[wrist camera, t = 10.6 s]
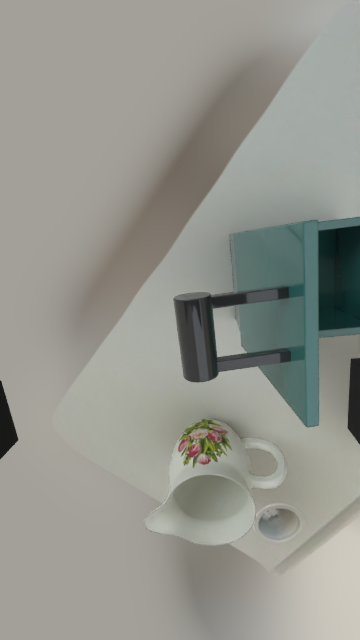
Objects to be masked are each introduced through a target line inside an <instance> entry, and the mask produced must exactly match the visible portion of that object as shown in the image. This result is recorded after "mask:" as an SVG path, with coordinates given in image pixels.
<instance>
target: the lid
mask: <svg viewBox="0 0 360 640" xmlns="http://www.w3.org/2000/svg"><path fill="white" fill-rule="evenodd" d="M233 239H234V253H235V266H236V279H237V292H230V293H222V294H215V295H211V294H210V293H207V292H195V293H187V294H182V295H179V296H176V297H174V299H173V300H174V308H175V315H176V323H177V331H178V338H179V346H180V353H181V361H182V368H183V376H184V378H185V379H186V380H188V381H191V382H206V381H210V380H212V379H214V378H216V377H217V376H218V373H219V372H220V371H228V370H235V369H242V368H249V367H256V366H258V367H259V368H260V370H261V371H262V372H263V374H264V375H265V376H266V377H267V379H268V380H269V381H270V382H271V384H272V385H273V386H274V387H275V389H276V390H277V391H278V392H279V394H280V395H281V396H282V397H283V399H284V400H285V401H286V402H287V404H288V405H289V406H290V407H291V409H292V410H293V411H294V412H295V414H296V415H297V416H298V417H299V419H300V420H301V421H302V422H303V424H304V425H305V426H306V427H314V426H319V289H318V220H311V221H303V222H297V223H291V224H286V225H280V226H274V227H268V228H262V229H256V230H250V231H244V232H238V233H233ZM235 305H238V306H239V319H240V332H241V346H242V347H243V348H244V350H245V351H246V352H247V353H245V354H238V355H230V356H223V357H217V350H216V340H215V330H214V320H213V310H212V309H213V308H220V307H228V306H235Z"/></svg>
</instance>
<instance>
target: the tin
mask: <svg viewBox="0 0 360 640" xmlns="http://www.w3.org/2000/svg"><path fill="white" fill-rule="evenodd" d="M229 238H230V251H231V263H232V276H233V289H234V292H237V279H236V266H235V253H234V239H233V234H230V235H229ZM318 289H319V338H322V337H333V336H345V335H357V334H360V217H355V218H347V219H339V220H332V221H324V222H318ZM235 314H236V321H237V324H238V327H239V330H240V319H239V306H238V305H235ZM240 333H241V332H240Z"/></svg>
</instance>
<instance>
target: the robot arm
mask: <svg viewBox="0 0 360 640" xmlns="http://www.w3.org/2000/svg"><path fill="white" fill-rule="evenodd" d="M348 429H349V430H350V432H351V433H352V434H353V436H354V437H355V438H356V440H357V441H358V443H359V444H360V358H356V359H351V367H350V389H349V411H348ZM17 441H18V437H17V433H16V430H15V427H14V423H13V420H12V416H11V413H10V409H9V406H8V403H7V399H6V396H5V393H4V389H3V386H2V382H1V381H0V459H1V458H2V457H3V456H4V455H5V454H6V453H7V451H9V449H10V448H11V447H12V446H13V445H14V444H15V443H16V442H17Z"/></svg>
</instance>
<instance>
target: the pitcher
mask: <svg viewBox="0 0 360 640" xmlns="http://www.w3.org/2000/svg"><path fill="white" fill-rule="evenodd" d="M248 448H255V449H261V450H264V451H267V452H269V453H271V454H272V455H273V456H274V457H275V459H276V461H277V469H276V471H275V473H273V474H272V475H270V476H265V477H261V476H256V475H254V474H252V471H251V465H250V460H249V457H248V454H247V451H246V449H248ZM286 475H287V465H286V461H285V458H284V455H283V453H282V451H281V450H280V449H279V448H278V447H277V446H276V445H274V444H273V443H271V442H269V441H266V440H263V439H258V438H239V437H238V435H237V434H236V433H235V432H234V430H233V429H232V428H230V427H229V426H228V425H227V424H225V423H223V422H221V421H218V420H215V419H203V420H199V421H196V422H195V423H193V424H191V425H190V426H189V427H188V428H187V429H186V430H185V431H184V432H183V433H182V435H181V436H180V437H179V439H178V441H177V443H176V445H175V447H174V450H173V453H172V457H171V461H170V468H169V484H170V492H169V494H168V496H167V498H166V500H165V501H164V503H163V504H162V505H161V506H159V507H158V508H156V509H155V510H153V511H152V512H151V513H150V514H149V515H148V516H146V517H145V520H144V526H145V527H146V528H147V529H148V530H149V531H152V532H155V533H160V534H169V535H175V536H178V537H180V538H182V539H185V540H187V541H189V542H192V543H196V544H200V545H223V544H227V543H231V542H233V541H236V540H238V539H240V538H241V537H243V536H244V535H245V534H246V533H247V532H248V531H249V530H250V529H251V527H252V526H253V524H254V521H255V518H256V506H255V502H254V499H253V496H252V494H251V492H250V491H251V489H253V488H260V489H272V488H276V487H278V486H279V485H280V484H282V483H283V481H284V480H285V478H286Z"/></svg>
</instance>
